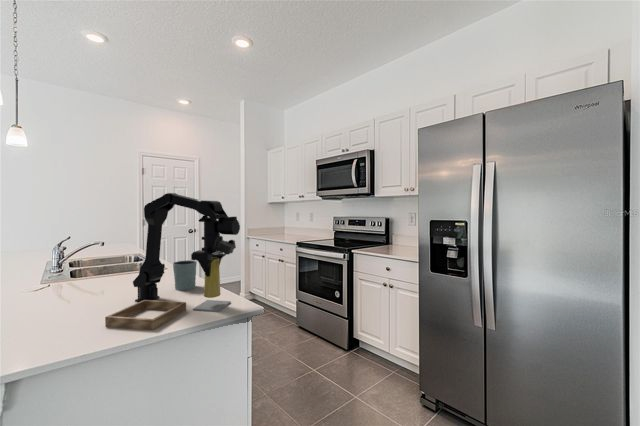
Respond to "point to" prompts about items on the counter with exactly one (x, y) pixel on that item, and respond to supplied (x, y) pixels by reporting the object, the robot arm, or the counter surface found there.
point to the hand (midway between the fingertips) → (212, 274)
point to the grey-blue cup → (184, 274)
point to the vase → (213, 280)
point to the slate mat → (212, 305)
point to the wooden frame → (125, 321)
